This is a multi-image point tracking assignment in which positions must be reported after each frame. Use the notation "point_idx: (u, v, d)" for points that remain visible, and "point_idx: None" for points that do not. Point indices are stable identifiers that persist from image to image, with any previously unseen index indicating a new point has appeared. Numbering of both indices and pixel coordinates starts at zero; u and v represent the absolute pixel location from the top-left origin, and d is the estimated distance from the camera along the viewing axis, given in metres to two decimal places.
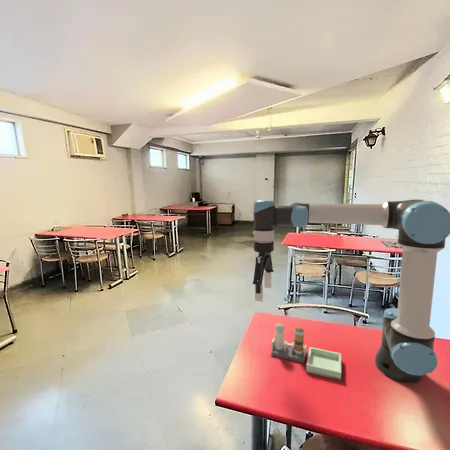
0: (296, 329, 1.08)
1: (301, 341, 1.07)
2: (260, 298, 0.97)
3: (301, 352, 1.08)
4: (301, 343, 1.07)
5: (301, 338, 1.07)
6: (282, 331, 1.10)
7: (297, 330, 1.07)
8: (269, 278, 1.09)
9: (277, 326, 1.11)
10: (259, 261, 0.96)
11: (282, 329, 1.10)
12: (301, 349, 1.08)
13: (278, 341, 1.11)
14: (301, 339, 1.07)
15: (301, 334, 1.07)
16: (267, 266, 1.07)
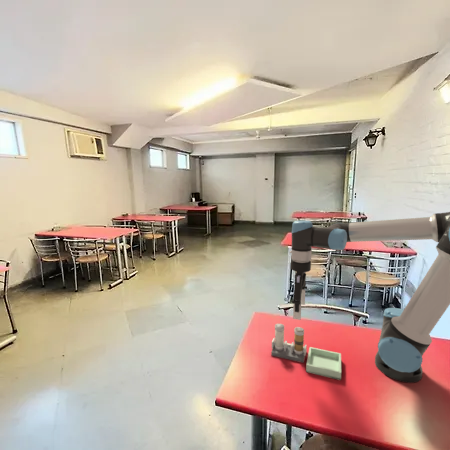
0: (296, 329, 1.08)
1: (301, 341, 1.07)
2: (298, 316, 1.00)
3: (301, 352, 1.08)
4: (301, 343, 1.07)
5: (301, 338, 1.07)
6: (282, 331, 1.10)
7: (297, 330, 1.07)
8: (303, 295, 1.12)
9: (277, 326, 1.11)
10: (298, 281, 0.98)
11: (282, 329, 1.10)
12: (301, 349, 1.08)
13: (278, 341, 1.11)
14: (301, 339, 1.07)
15: (301, 334, 1.07)
16: None
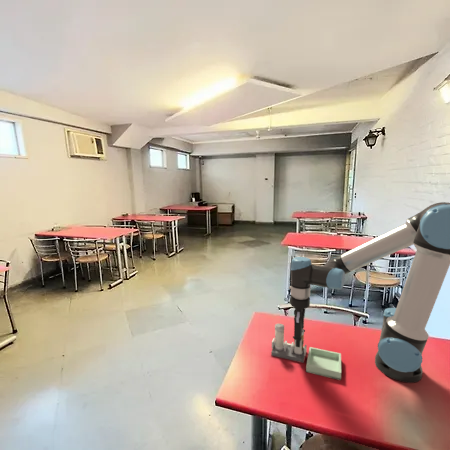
0: None
1: None
2: (299, 351, 1.07)
3: None
4: None
5: None
6: (282, 331, 1.10)
7: None
8: None
9: (277, 326, 1.11)
10: (298, 322, 1.02)
11: (282, 329, 1.10)
12: None
13: (278, 341, 1.11)
14: None
15: None
16: None
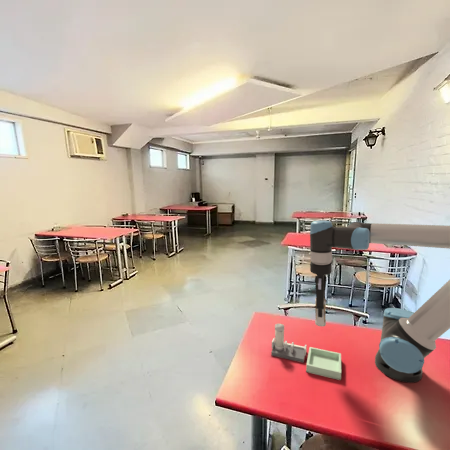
0: None
1: None
2: (322, 322, 0.99)
3: None
4: None
5: None
6: (282, 331, 1.10)
7: None
8: None
9: (277, 326, 1.11)
10: (320, 288, 0.94)
11: (282, 329, 1.10)
12: None
13: (278, 341, 1.11)
14: None
15: None
16: None
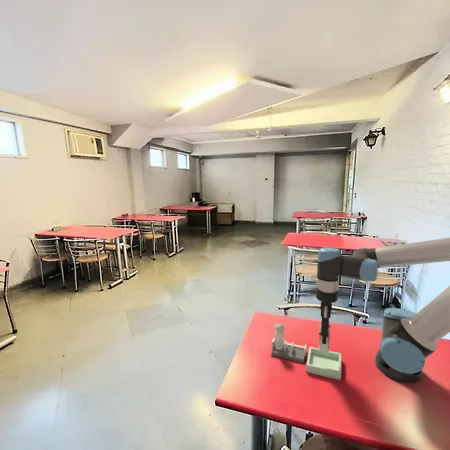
0: None
1: None
2: (325, 348, 0.99)
3: None
4: None
5: None
6: (282, 331, 1.10)
7: None
8: None
9: (277, 326, 1.11)
10: (326, 317, 0.94)
11: (282, 329, 1.10)
12: None
13: (278, 341, 1.11)
14: None
15: None
16: None
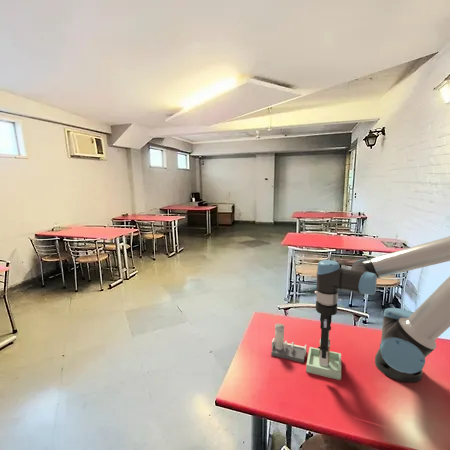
0: None
1: None
2: (325, 362, 0.96)
3: None
4: None
5: None
6: (282, 331, 1.10)
7: None
8: (327, 336, 1.07)
9: (277, 326, 1.11)
10: (325, 326, 0.94)
11: (282, 329, 1.10)
12: None
13: (278, 341, 1.11)
14: None
15: None
16: None
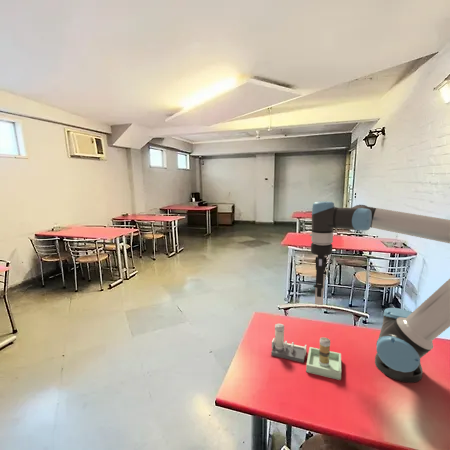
0: (322, 340, 1.02)
1: (327, 352, 1.01)
2: (320, 301, 0.95)
3: (327, 364, 1.01)
4: (327, 355, 1.01)
5: (327, 349, 1.00)
6: (282, 331, 1.10)
7: (323, 341, 1.01)
8: (322, 281, 1.07)
9: (277, 326, 1.11)
10: (321, 264, 0.94)
11: (282, 329, 1.10)
12: (327, 361, 1.01)
13: (278, 341, 1.11)
14: (327, 350, 1.01)
15: (327, 345, 1.00)
16: None
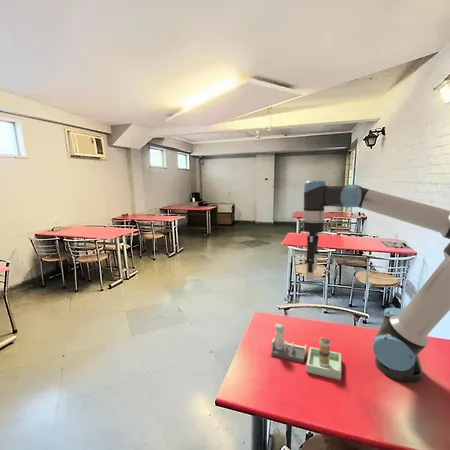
0: (322, 340, 1.02)
1: (327, 353, 1.01)
2: (312, 277, 0.98)
3: (327, 364, 1.01)
4: (327, 355, 1.01)
5: (327, 349, 1.00)
6: (282, 331, 1.10)
7: (323, 341, 1.01)
8: (315, 260, 1.10)
9: (277, 326, 1.11)
10: (311, 240, 0.96)
11: (282, 329, 1.10)
12: (327, 361, 1.01)
13: (278, 341, 1.11)
14: (327, 350, 1.01)
15: (327, 345, 1.00)
16: None
